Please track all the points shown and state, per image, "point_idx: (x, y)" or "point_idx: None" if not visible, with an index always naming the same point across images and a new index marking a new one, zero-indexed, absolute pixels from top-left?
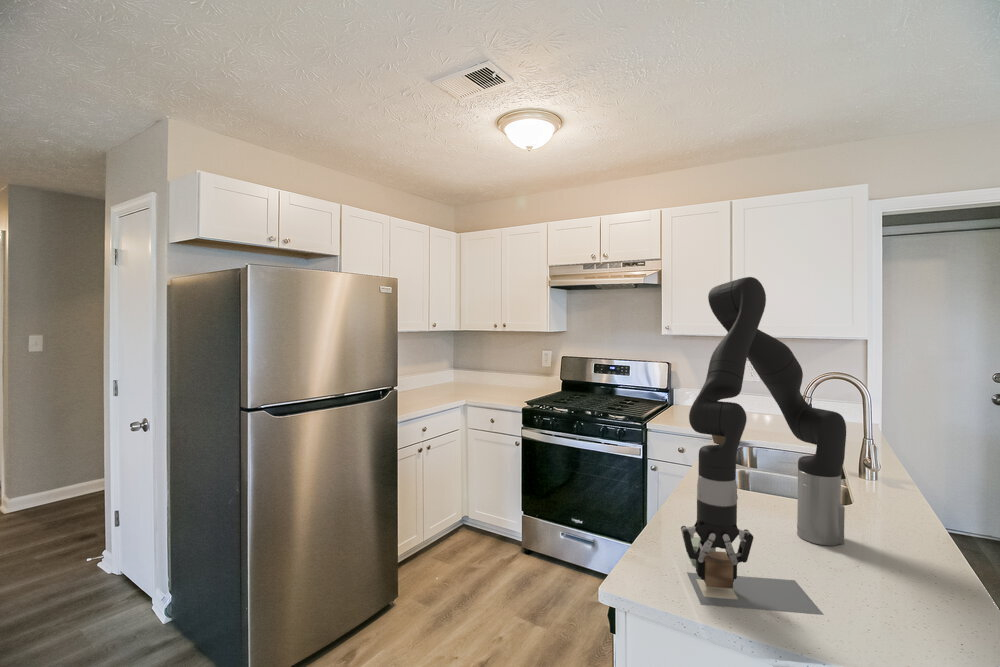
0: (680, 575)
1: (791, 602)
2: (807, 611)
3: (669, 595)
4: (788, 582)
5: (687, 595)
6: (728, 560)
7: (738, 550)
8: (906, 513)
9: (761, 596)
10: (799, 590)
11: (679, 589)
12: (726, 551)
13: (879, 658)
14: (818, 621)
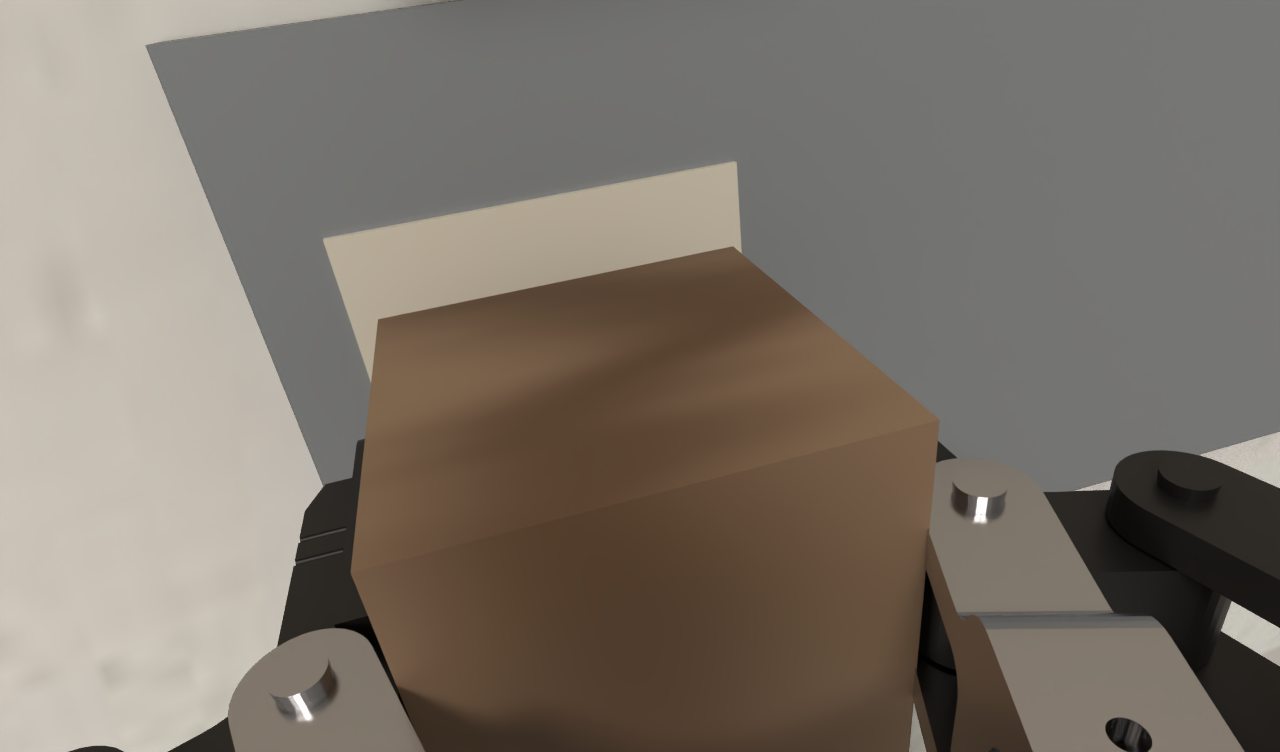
0: (57, 82)
1: (1175, 351)
2: (1210, 433)
3: (48, 612)
4: None
5: (252, 536)
6: (872, 710)
7: (1220, 575)
8: None
9: (980, 347)
10: None
11: (135, 460)
12: (955, 641)
13: (1264, 652)
14: None
